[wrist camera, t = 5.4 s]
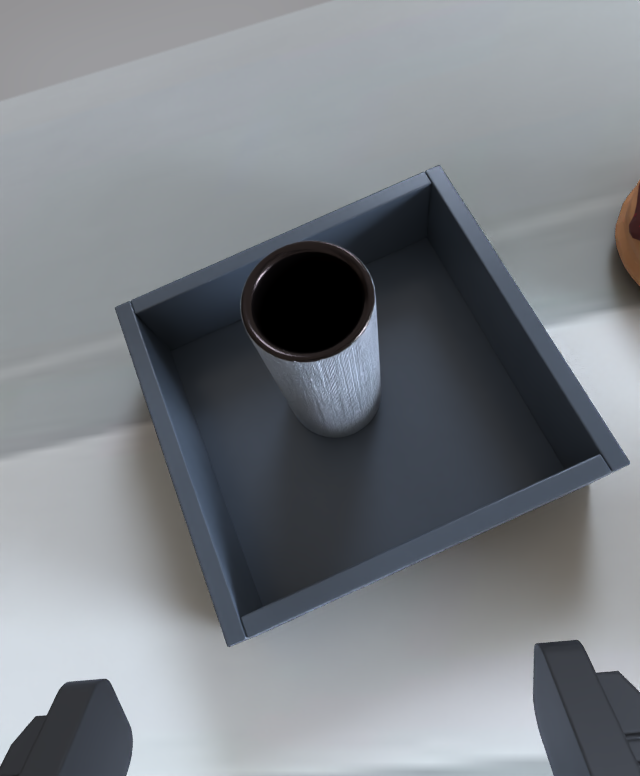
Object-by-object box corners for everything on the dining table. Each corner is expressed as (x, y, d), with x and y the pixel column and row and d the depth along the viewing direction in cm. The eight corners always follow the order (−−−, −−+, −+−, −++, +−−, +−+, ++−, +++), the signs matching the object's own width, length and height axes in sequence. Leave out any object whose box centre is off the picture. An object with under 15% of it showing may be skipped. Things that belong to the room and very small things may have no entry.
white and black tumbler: (277, 420, 28) (217, 337, 19) (310, 341, 30) (270, 224, 20) (362, 451, 27) (346, 380, 18) (394, 367, 29) (394, 258, 19)
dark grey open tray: (433, 223, 31) (440, 163, 27) (590, 483, 26) (631, 463, 21) (154, 347, 31) (113, 306, 26) (256, 636, 26) (226, 648, 21)
